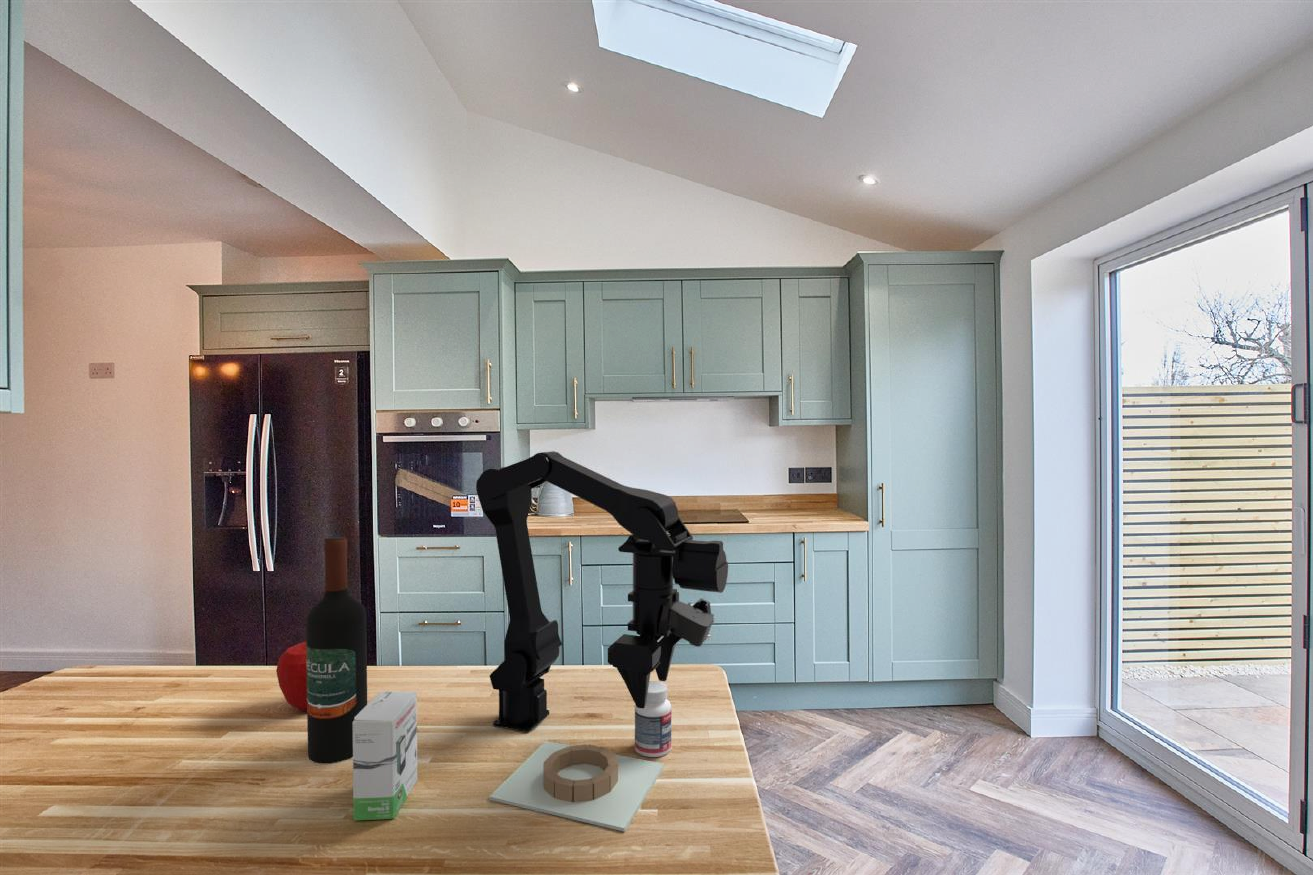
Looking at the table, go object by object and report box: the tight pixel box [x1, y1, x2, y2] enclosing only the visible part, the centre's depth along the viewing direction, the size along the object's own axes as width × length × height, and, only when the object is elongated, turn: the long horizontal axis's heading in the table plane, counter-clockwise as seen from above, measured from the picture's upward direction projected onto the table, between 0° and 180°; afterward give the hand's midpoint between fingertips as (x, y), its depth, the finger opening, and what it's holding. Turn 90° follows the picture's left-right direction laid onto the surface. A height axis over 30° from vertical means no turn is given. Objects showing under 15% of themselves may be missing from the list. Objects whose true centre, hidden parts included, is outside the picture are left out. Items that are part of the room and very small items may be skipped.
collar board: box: [488, 740, 665, 832], centre depth 80 cm, size 18×14×2 cm
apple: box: [275, 641, 307, 712], centre depth 102 cm, size 10×10×11 cm
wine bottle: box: [305, 536, 368, 765], centre depth 88 cm, size 8×8×30 cm
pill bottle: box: [634, 680, 672, 758], centre depth 89 cm, size 5×5×9 cm
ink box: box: [352, 690, 418, 821], centre depth 77 cm, size 9×5×12 cm, turn 2°
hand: (652, 693), depth 88 cm, fingers open, 9 cm apart
